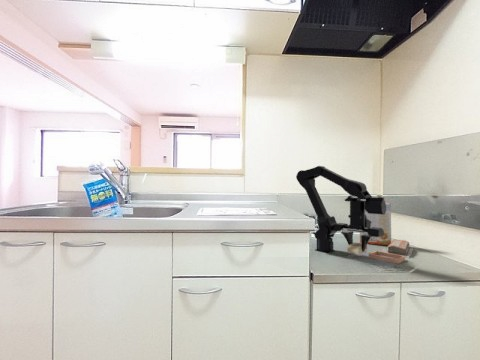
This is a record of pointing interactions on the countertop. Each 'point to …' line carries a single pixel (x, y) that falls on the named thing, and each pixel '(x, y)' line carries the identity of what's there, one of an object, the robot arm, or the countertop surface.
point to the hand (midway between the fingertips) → (357, 250)
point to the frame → (398, 257)
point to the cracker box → (380, 226)
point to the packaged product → (399, 248)
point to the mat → (371, 259)
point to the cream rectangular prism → (356, 248)
